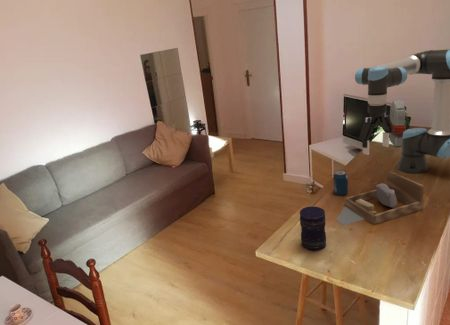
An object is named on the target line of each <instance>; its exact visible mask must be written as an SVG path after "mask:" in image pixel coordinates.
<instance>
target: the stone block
mask: <svg viewBox="0 0 450 325" xmlns="http://www.w3.org/2000/svg"><path fill="white" fill-rule="evenodd" d="M375 189H376V192H377V196H378V198H377V199H378V201H379V203H380V204H382V205H384V206H386V207H389V208H392V209H394V208H397V205H398V199H397V198H396V196H395V193H394V190H392V189H389V188H388V186H387V183H383V182H382V183H378V184H376V185H375Z"/></svg>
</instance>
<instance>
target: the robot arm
mask: <svg viewBox="0 0 450 325" xmlns="http://www.w3.org/2000/svg"><path fill="white" fill-rule="evenodd" d="M416 74H417V75H420V74H421V75H431V80H432V81H433V82H434V90H433V101H432V102H433V103H432V114H431V128H430V129H427V128H425V127H414V128H409V129H405V131H404V132H403V138H402V139H403V140H402V146H401V156H400V158H399V161H398V163H397V169H398V170H399V171H402V172H404V173H409V174H410V173H411V174H419V173H421V174H422V173H425V172H427V171H428V168H429V164H428V162H427V158H426V156H432V157H435V158H442V159H448V158H450V49H449V48H447V49H435V50H434V49H431V50H430V49H429V50H425V51H424V50H423V51H421V52H417V53H414V54H409V55H407V56H406V57H405V58H404V59H399V60H395V61H391V62H387V63H383V64H379V65H376V66H372V67H363V68H358V69H357V70H356V72H355V75H354V81H355V82H356V84H358V85H363V86H366V85H367V113H368V115H369V117H364V118H363V124H362V128H361V130H360V133H359V136H358V140H359V141H362V154H364V155H367V156H368V155H370V138H371V137H370V136H371V135H372V133H373V131H374V128H376V127H377V126H380V127H381V129H382V130H383V132H382V147H385V148H389V146H390V139H389V133H392V130H393V126H392V123H391V120H390V111H387V107H388V105H387V102H388V88H392V87H395V86H399V85H402V84H403V83H405V82H406V81H407V79H408V75H409V76H410V75H416Z"/></svg>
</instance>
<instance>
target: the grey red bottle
mask: <svg viewBox="0 0 450 325" xmlns="http://www.w3.org/2000/svg"><path fill="white" fill-rule="evenodd" d="M405 110H406V109H405V104H404V101H403V100H402V99H397V100H396V99H395V100H392V101H391V103H390V109H389V117H390V120H391V123H392V126H393V130H392V133H389V141H390V142H391V143H392V145H394V147H402V140H403V139H402V138H403V132H404V131H405V130H406V126H405V122H406V121H405V120H406V111H405Z"/></svg>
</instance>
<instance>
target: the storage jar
mask: <svg viewBox="0 0 450 325" xmlns="http://www.w3.org/2000/svg"><path fill="white" fill-rule="evenodd" d="M299 224H300V229H301V232H300V240H301V246H302V248H303V249H305V250H307V251H310V252H319V251H323V250H324V249H325V248H326V247H327V242H326V241H327V235H326V211H325V210H324V208H321V207H319V206H306V207H304V208H303V207H302V208H301V210H300V211H299Z"/></svg>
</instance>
